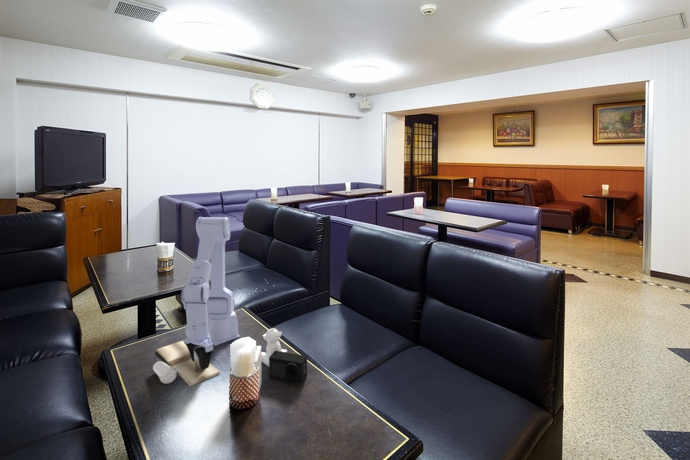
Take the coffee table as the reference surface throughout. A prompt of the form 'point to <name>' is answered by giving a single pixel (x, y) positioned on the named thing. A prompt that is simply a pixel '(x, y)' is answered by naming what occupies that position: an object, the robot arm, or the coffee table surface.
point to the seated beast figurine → (271, 344)
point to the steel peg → (197, 361)
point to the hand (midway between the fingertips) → (200, 364)
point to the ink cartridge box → (258, 363)
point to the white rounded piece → (165, 372)
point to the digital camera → (288, 367)
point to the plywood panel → (185, 363)
